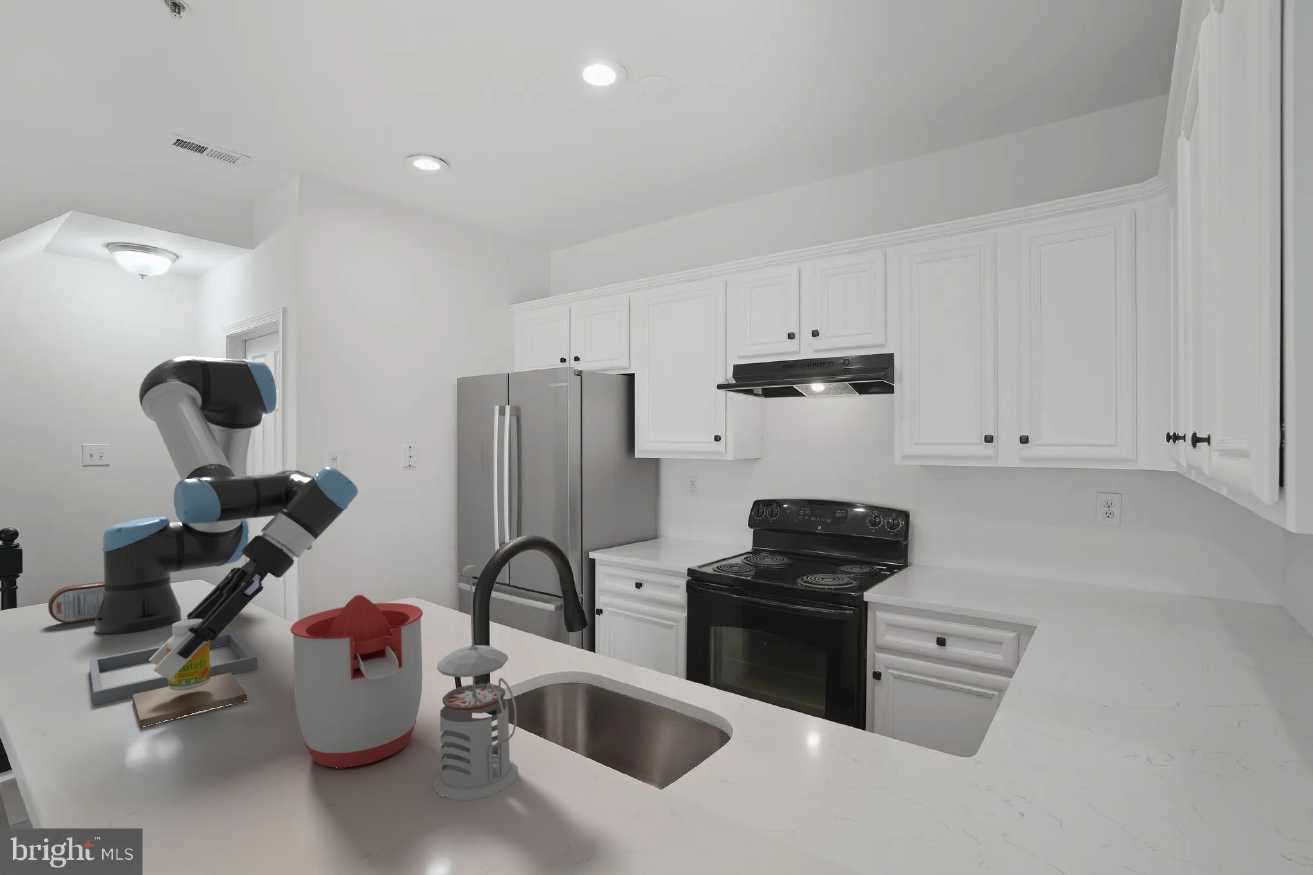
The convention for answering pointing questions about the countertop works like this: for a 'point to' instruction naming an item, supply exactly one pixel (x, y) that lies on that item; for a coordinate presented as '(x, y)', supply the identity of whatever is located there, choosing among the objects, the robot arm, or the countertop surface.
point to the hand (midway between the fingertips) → (159, 669)
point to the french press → (474, 724)
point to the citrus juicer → (358, 680)
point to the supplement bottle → (198, 664)
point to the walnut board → (187, 700)
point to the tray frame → (128, 689)
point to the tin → (77, 602)
